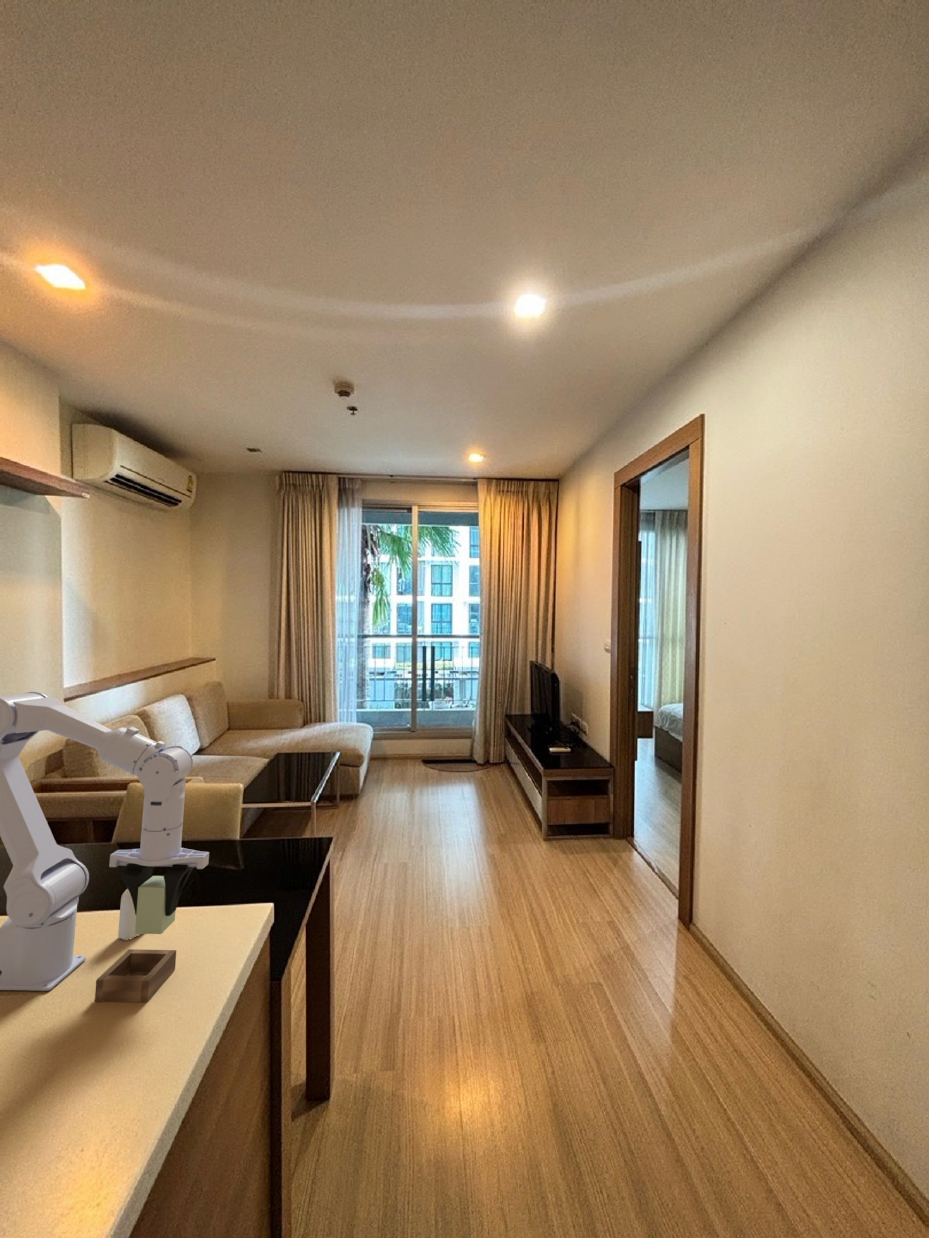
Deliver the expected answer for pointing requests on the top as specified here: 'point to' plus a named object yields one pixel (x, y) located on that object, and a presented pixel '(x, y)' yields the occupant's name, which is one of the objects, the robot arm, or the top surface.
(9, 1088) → the top surface
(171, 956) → the socket block
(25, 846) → the robot arm
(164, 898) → the pale green block
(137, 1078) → the top surface
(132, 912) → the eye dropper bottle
